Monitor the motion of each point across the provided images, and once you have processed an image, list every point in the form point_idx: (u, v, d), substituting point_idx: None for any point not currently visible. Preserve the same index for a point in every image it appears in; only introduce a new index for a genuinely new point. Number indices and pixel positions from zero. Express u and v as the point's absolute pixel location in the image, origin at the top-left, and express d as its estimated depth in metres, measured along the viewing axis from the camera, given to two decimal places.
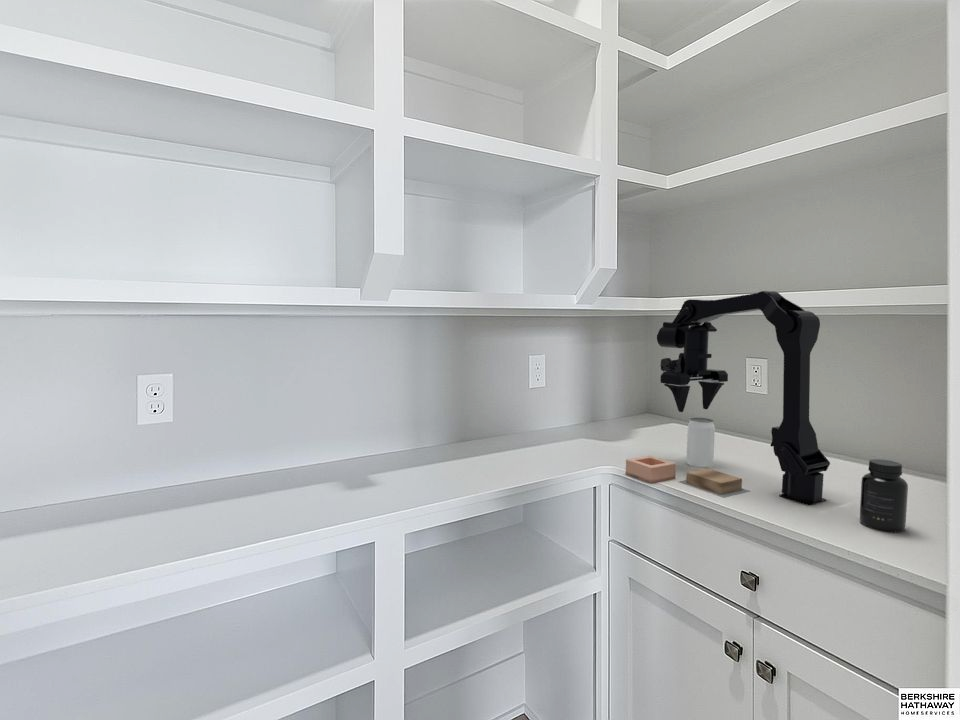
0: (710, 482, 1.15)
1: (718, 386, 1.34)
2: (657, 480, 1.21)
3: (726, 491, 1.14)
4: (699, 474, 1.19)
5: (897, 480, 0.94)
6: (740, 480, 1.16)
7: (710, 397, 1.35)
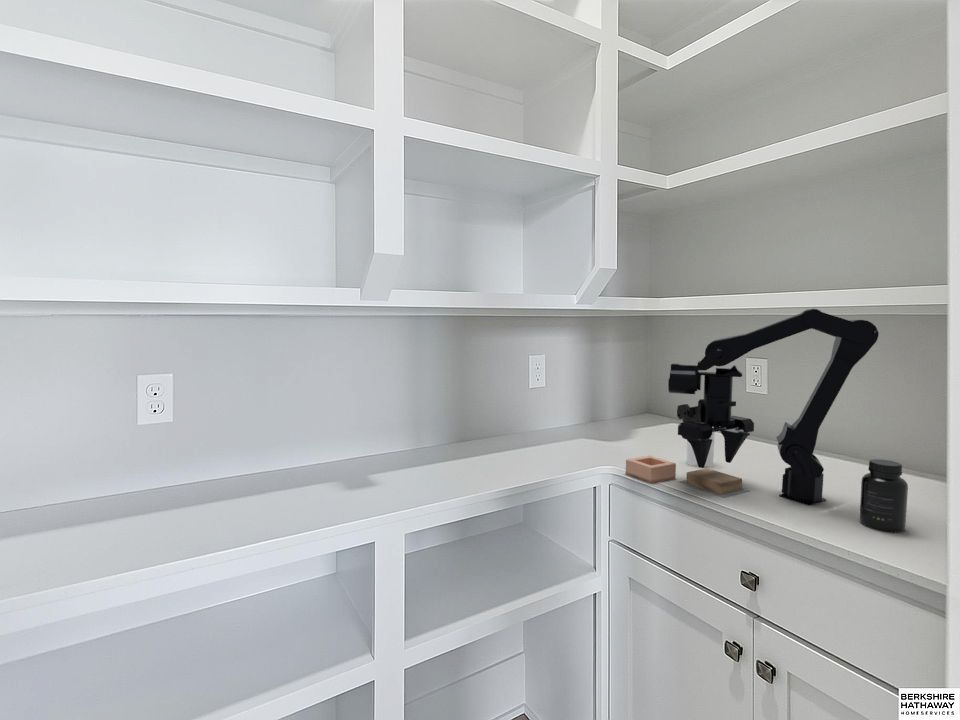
0: (710, 482, 1.15)
1: (743, 437, 1.18)
2: (657, 480, 1.21)
3: (726, 491, 1.14)
4: (699, 474, 1.19)
5: (897, 480, 0.94)
6: (740, 480, 1.16)
7: (734, 449, 1.19)
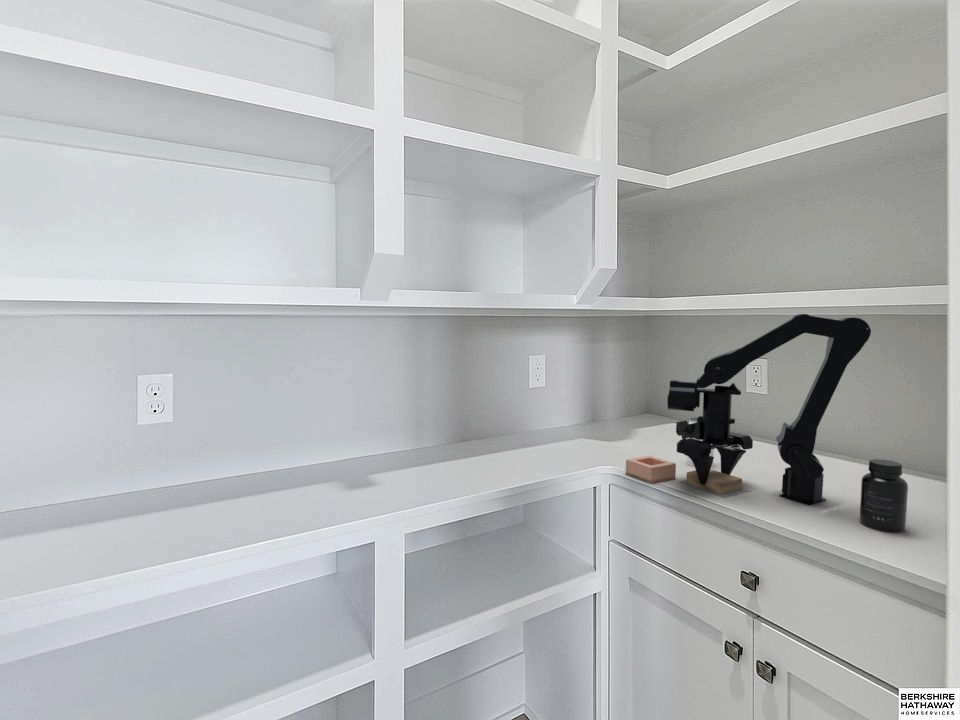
0: (710, 482, 1.15)
1: (739, 454, 1.18)
2: (657, 480, 1.21)
3: (726, 491, 1.14)
4: None
5: (897, 480, 0.94)
6: (740, 480, 1.16)
7: (730, 467, 1.19)
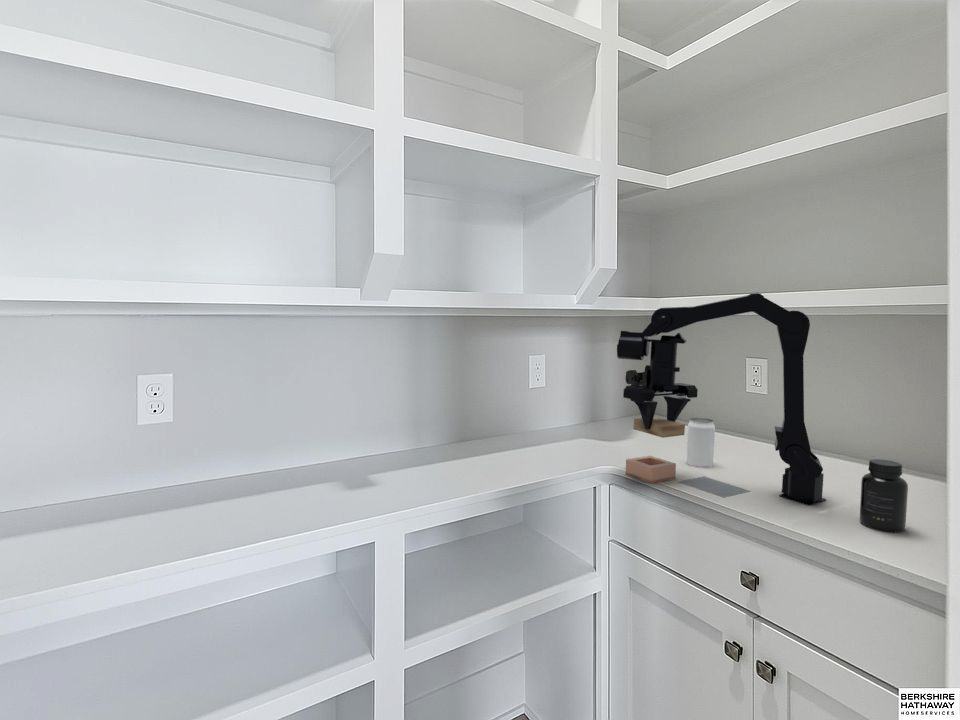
0: (654, 426, 1.20)
1: (683, 402, 1.23)
2: (657, 480, 1.21)
3: (668, 435, 1.19)
4: None
5: (897, 480, 0.94)
6: (683, 425, 1.21)
7: (675, 414, 1.24)
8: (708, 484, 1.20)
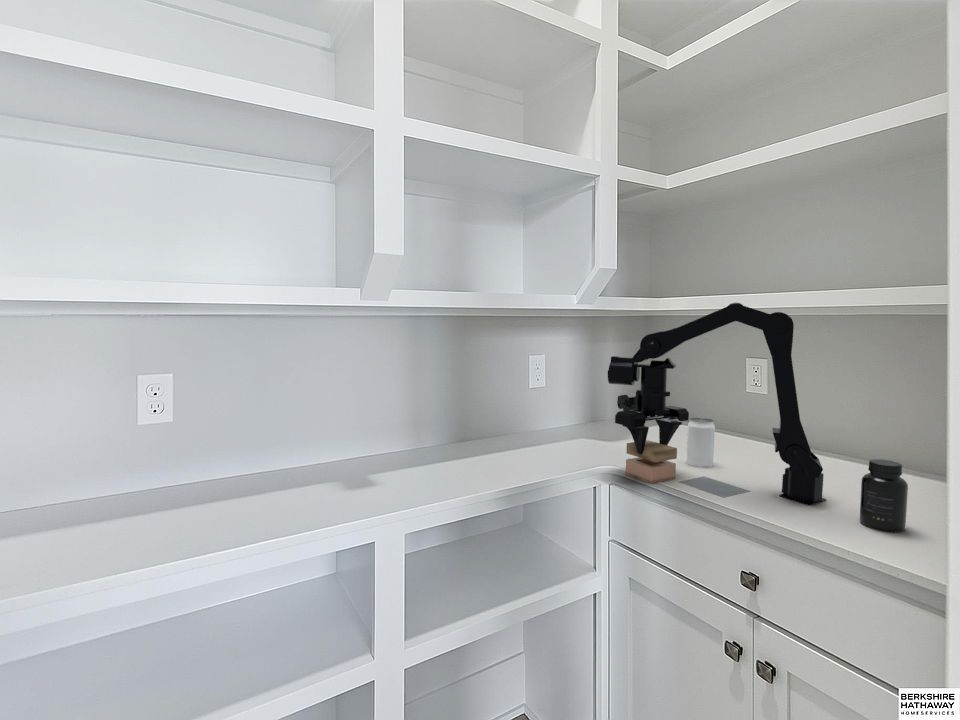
0: (646, 451, 1.22)
1: (675, 426, 1.24)
2: (657, 480, 1.21)
3: (661, 459, 1.20)
4: None
5: (897, 480, 0.94)
6: (675, 449, 1.22)
7: (667, 438, 1.25)
8: (708, 484, 1.20)
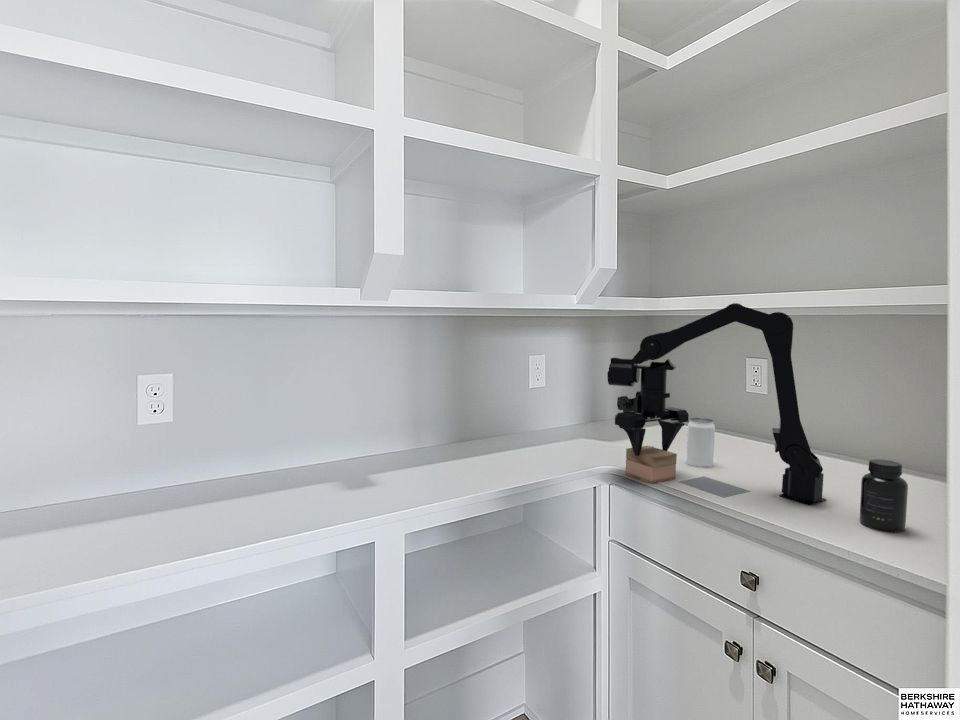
0: (646, 457, 1.22)
1: (677, 427, 1.25)
2: (657, 480, 1.21)
3: (660, 465, 1.21)
4: None
5: (896, 480, 0.94)
6: (675, 455, 1.23)
7: (669, 439, 1.26)
8: (708, 484, 1.20)
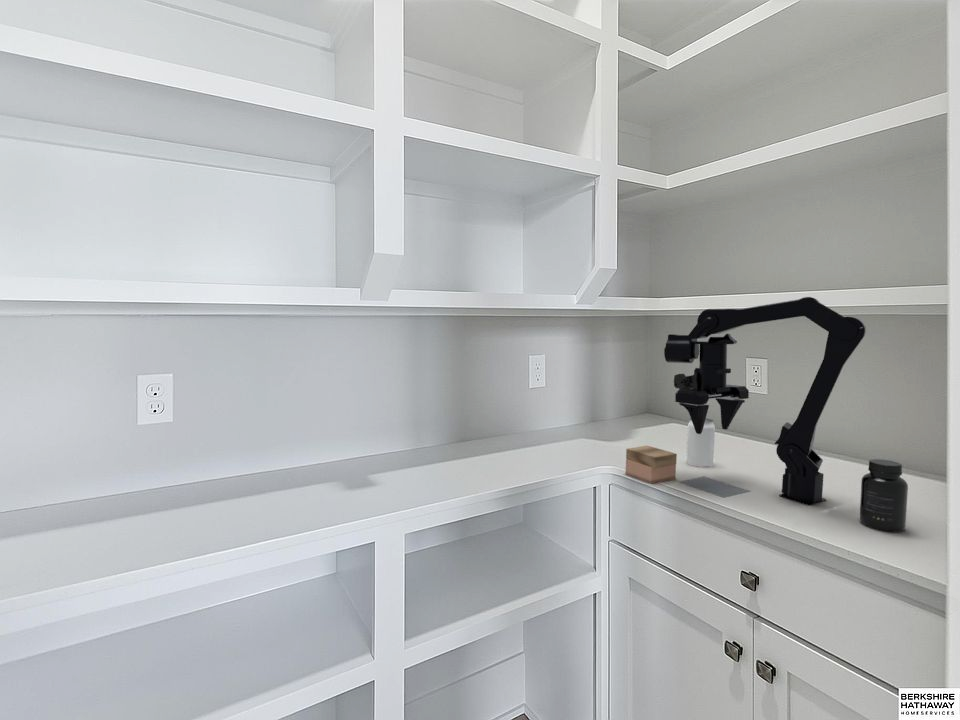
0: (646, 457, 1.22)
1: (738, 404, 1.21)
2: (657, 480, 1.21)
3: (660, 465, 1.21)
4: (637, 450, 1.26)
5: (896, 480, 0.94)
6: (675, 455, 1.23)
7: (730, 416, 1.22)
8: (708, 484, 1.20)
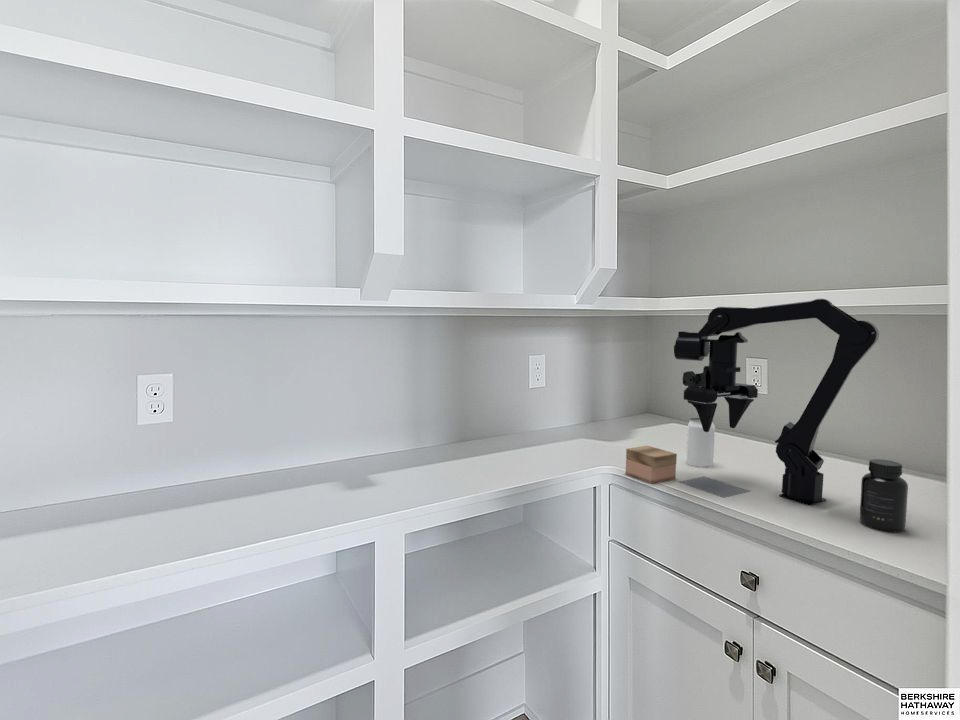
0: (646, 457, 1.22)
1: (747, 402, 1.21)
2: (657, 480, 1.21)
3: (660, 465, 1.21)
4: (637, 450, 1.26)
5: (897, 480, 0.94)
6: (675, 455, 1.23)
7: (738, 415, 1.22)
8: (708, 484, 1.20)
